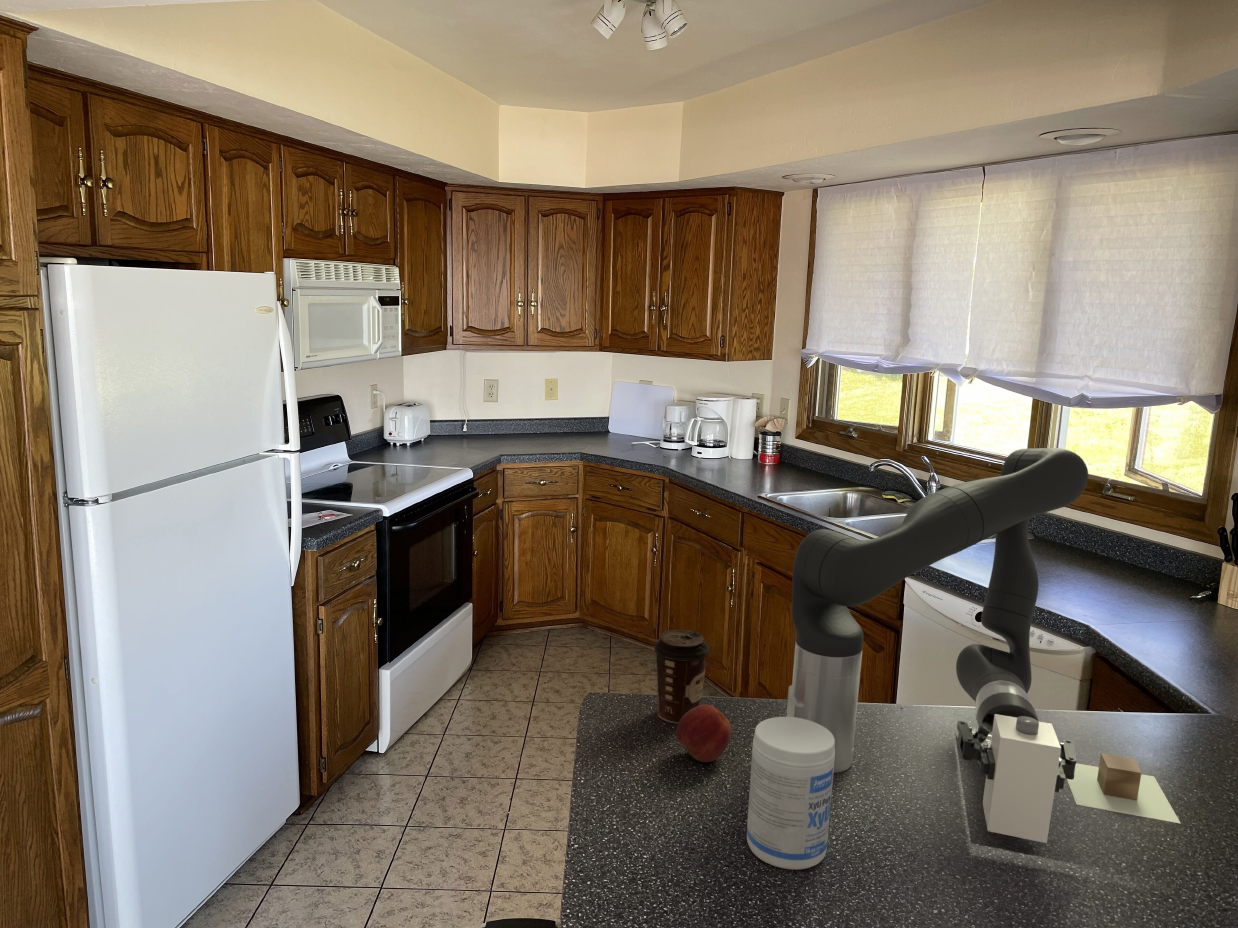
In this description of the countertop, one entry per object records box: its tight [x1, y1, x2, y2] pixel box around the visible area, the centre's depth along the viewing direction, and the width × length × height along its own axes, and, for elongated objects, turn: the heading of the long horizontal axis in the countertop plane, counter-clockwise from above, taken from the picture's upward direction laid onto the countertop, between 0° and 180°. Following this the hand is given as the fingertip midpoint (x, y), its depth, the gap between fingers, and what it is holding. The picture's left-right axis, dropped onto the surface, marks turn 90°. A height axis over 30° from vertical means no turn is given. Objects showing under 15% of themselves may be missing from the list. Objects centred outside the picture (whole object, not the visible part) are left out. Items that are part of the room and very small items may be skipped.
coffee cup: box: [653, 629, 711, 725], centre depth 135 cm, size 9×8×13 cm
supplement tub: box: [746, 716, 835, 870], centre depth 102 cm, size 10×10×15 cm
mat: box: [1066, 762, 1181, 824], centre depth 117 cm, size 12×12×1 cm
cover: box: [982, 714, 1061, 844], centre depth 104 cm, size 6×6×13 cm
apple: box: [675, 703, 732, 763], centre depth 123 cm, size 7×8×8 cm
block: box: [1097, 752, 1142, 801], centre depth 117 cm, size 4×4×4 cm
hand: (1024, 778), depth 101 cm, fingers closed on cover, 6 cm apart
